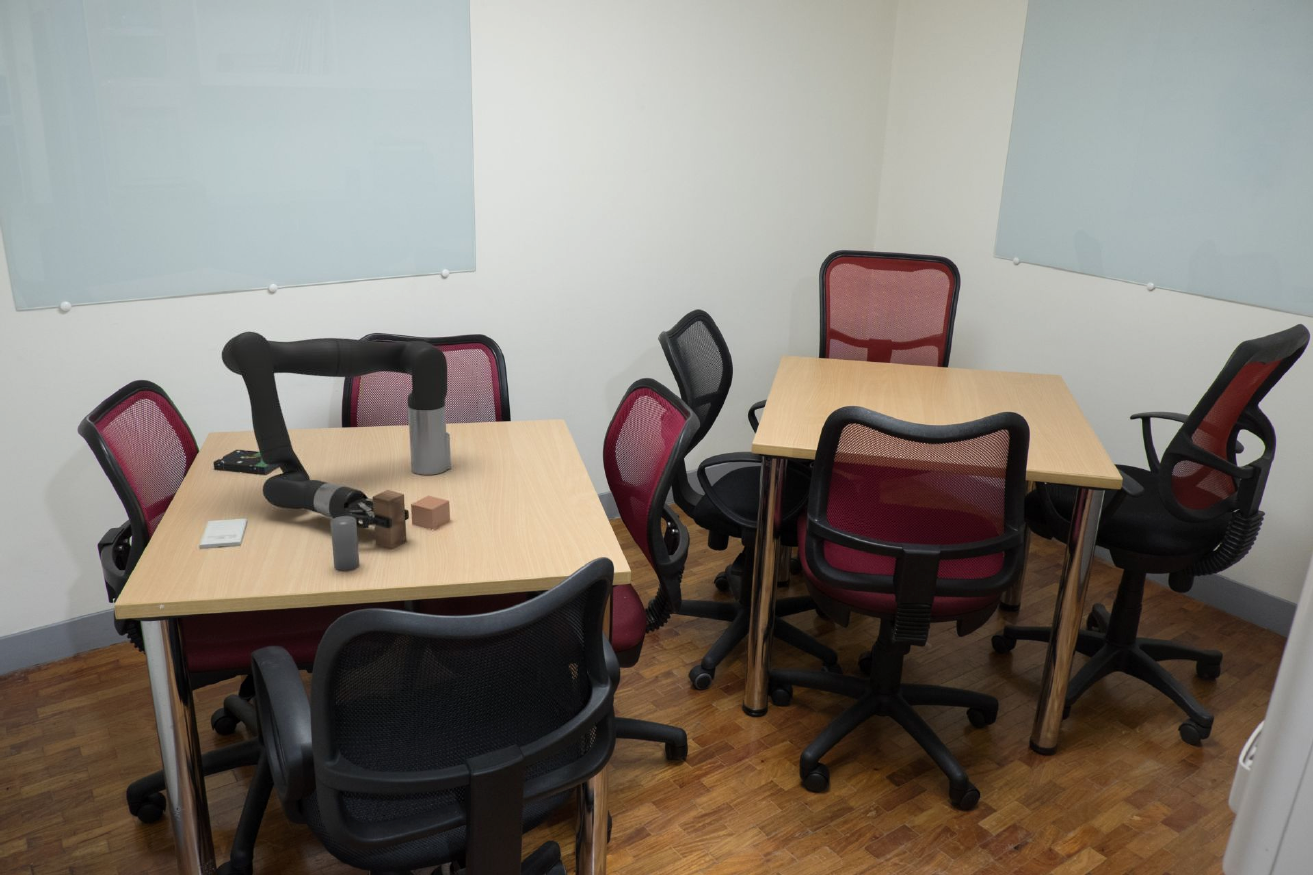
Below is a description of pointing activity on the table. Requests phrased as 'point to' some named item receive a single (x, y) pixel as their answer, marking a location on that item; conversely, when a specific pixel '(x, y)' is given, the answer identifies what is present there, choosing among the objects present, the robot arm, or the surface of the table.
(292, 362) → the robot arm
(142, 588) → the table surface
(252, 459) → the disk drive
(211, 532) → the external hard drive
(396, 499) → the walnut column
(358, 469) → the table surface
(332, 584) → the table surface
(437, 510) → the terracotta block
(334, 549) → the charcoal cylinder
